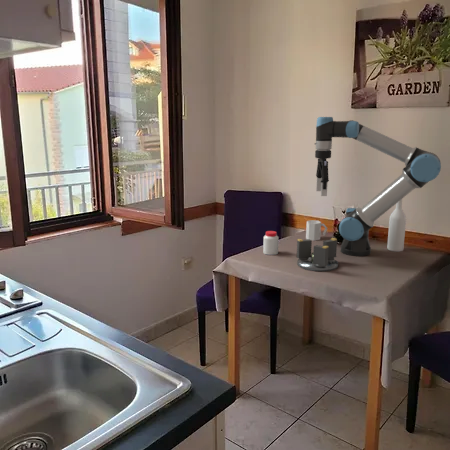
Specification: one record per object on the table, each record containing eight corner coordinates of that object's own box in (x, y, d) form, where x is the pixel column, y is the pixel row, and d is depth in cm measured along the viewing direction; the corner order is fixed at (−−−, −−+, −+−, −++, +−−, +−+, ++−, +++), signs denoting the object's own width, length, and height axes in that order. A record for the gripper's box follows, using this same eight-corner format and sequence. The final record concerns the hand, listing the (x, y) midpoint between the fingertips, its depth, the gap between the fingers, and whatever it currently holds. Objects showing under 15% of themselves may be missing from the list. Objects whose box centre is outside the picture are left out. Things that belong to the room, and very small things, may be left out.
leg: (311, 265, 210) (312, 245, 208) (317, 263, 213) (317, 243, 211) (323, 268, 206) (324, 247, 204) (328, 266, 209) (329, 245, 207)
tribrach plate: (333, 258, 226) (334, 245, 224) (342, 271, 207) (342, 257, 206) (295, 258, 226) (295, 245, 225) (300, 271, 208) (300, 256, 206)
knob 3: (327, 261, 216) (328, 241, 214) (321, 258, 220) (321, 239, 218) (337, 259, 219) (338, 239, 217) (331, 256, 223) (332, 237, 221)
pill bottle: (277, 255, 232) (278, 234, 229) (262, 254, 233) (262, 233, 231) (278, 251, 239) (279, 230, 236) (264, 250, 241) (264, 230, 238)
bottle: (406, 249, 240) (411, 193, 232) (396, 252, 235) (401, 195, 228) (393, 246, 246) (398, 191, 239) (383, 248, 242) (388, 192, 235)
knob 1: (307, 256, 223) (308, 237, 221) (311, 259, 219) (312, 239, 216) (295, 258, 221) (296, 238, 219) (299, 260, 217) (300, 240, 215)
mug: (307, 240, 258) (307, 223, 256) (304, 236, 267) (305, 220, 264) (328, 240, 258) (329, 223, 256) (325, 236, 266) (326, 220, 264)
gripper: (311, 147, 231) (309, 189, 236) (319, 151, 207) (317, 198, 212) (326, 147, 231) (324, 189, 236) (336, 151, 207) (334, 198, 212)
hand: (321, 193), depth 224 cm, fingers open, 13 cm apart
